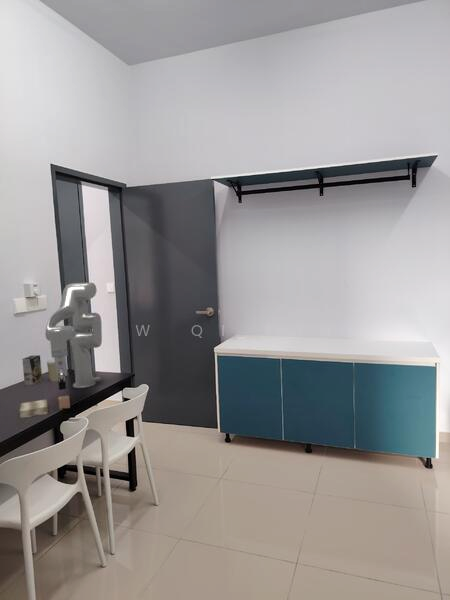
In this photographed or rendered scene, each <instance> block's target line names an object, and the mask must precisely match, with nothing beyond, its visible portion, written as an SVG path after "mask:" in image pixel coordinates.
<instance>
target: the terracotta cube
mask: <svg viewBox="0 0 450 600" xmlns="http://www.w3.org/2000/svg"><path fill="white" fill-rule="evenodd" d="M57 399H58V407H59V410H63V409H62V408H65V409H71V403H70V395H62V396H58V398H57Z"/></svg>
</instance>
